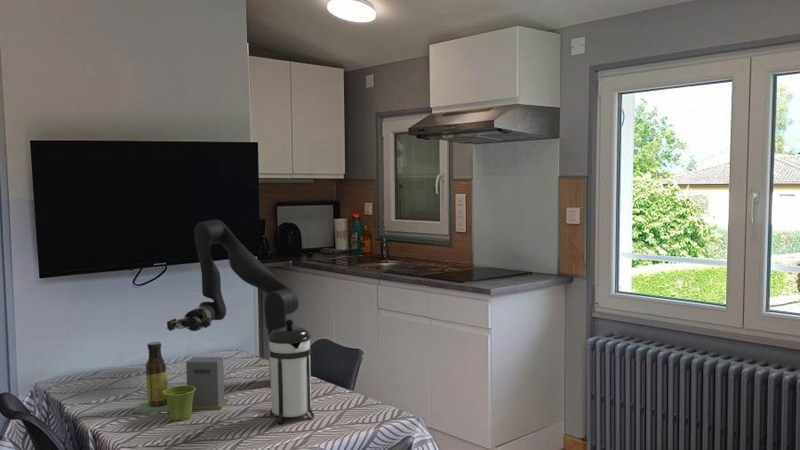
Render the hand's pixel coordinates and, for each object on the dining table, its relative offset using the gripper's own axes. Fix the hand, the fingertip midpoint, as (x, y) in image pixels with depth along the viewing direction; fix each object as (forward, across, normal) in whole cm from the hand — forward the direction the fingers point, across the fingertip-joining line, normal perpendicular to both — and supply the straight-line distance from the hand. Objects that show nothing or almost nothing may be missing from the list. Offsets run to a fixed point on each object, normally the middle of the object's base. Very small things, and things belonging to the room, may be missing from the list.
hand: (182, 327), depth 231 cm
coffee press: (+24, +41, +24) cm, 53 cm away
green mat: (+16, -3, +22) cm, 28 cm away
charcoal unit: (+14, +12, +23) cm, 29 cm away
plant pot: (+26, +8, +23) cm, 35 cm away
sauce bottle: (+16, -3, +22) cm, 27 cm away
